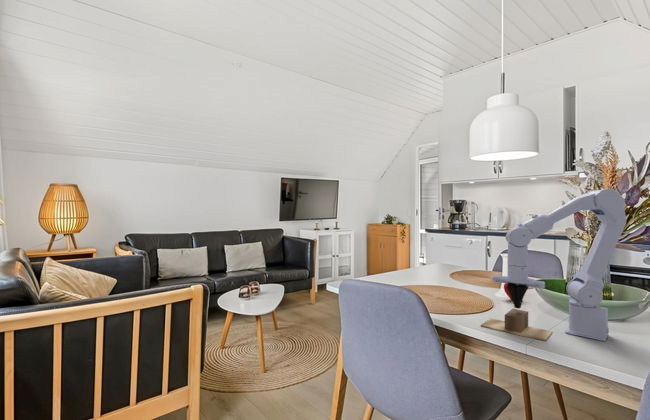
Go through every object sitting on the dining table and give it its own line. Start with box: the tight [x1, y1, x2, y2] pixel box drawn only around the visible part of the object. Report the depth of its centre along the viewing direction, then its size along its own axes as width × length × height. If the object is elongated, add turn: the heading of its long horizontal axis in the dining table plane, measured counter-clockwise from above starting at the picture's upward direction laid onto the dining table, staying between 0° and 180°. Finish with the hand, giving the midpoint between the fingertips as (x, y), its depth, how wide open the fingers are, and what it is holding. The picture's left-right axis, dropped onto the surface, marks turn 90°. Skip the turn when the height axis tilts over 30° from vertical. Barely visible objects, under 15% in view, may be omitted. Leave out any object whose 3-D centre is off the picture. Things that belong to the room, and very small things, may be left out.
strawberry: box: [503, 283, 513, 301], centre depth 139 cm, size 6×8×10 cm
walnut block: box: [504, 308, 529, 333], centre depth 108 cm, size 4×4×9 cm
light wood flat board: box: [480, 317, 553, 342], centre depth 107 cm, size 18×9×1 cm, turn 46°
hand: (517, 307), depth 109 cm, fingers closed
